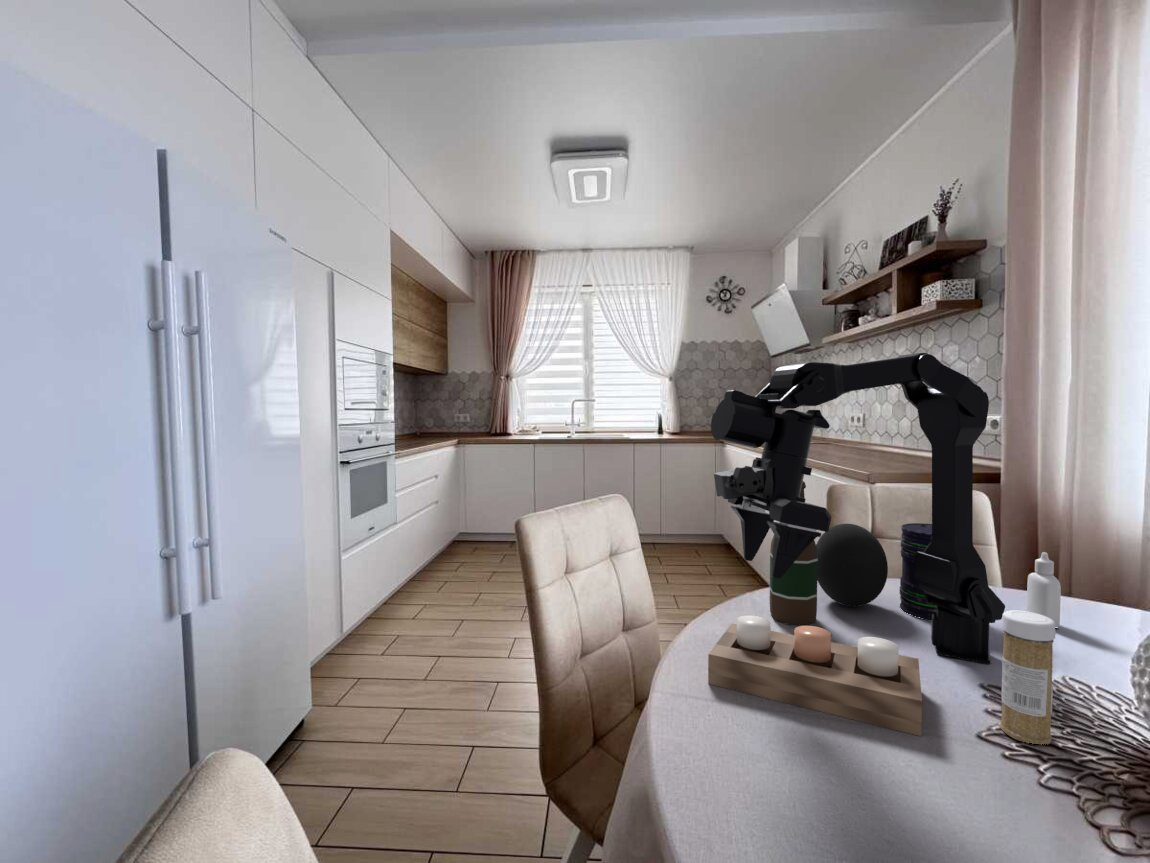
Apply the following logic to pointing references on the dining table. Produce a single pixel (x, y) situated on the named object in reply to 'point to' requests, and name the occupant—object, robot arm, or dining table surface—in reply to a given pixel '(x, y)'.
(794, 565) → the beer bottle
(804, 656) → the middle knob
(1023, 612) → the sprinkles bottle
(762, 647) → the knob
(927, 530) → the storage jar
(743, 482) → the robot arm
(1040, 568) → the eye dropper bottle
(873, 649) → the knob
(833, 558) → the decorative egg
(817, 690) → the knob mount
